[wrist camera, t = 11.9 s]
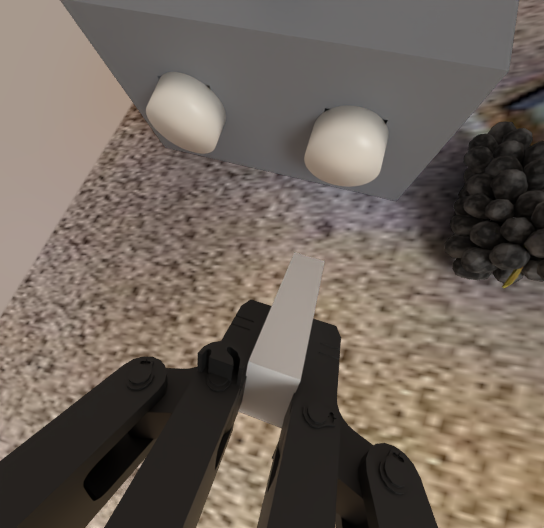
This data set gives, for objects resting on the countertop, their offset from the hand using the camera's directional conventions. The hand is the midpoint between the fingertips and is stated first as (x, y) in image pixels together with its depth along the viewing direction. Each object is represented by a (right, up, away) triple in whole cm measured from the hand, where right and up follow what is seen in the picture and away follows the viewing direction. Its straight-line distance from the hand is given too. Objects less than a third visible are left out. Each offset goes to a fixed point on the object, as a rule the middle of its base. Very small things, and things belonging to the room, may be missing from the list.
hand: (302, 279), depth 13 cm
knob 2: (+4, +10, +8) cm, 14 cm away
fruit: (+18, +5, +11) cm, 21 cm away
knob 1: (-7, +14, +10) cm, 18 cm away
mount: (0, +14, +14) cm, 19 cm away
